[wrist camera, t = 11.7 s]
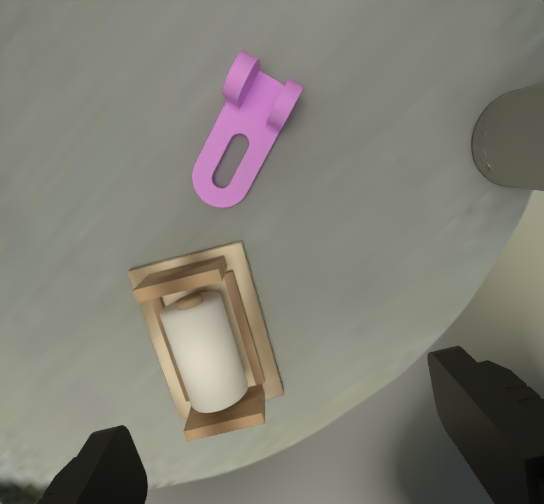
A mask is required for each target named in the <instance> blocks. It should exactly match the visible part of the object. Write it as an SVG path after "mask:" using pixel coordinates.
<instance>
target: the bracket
mask: <svg viewBox="0 0 544 504" xmlns="http://www.w3.org/2000/svg"><path fill="white" fill-rule="evenodd" d="M303 88H304V87H303V86H302V85H300V84H298V83H297V82H295V81H293V80H292V79H290V78H289V79H288V80H287V82H286V84H285V85H283V84H281V83H279V82H278V81H276V80H274V79H273V78H271V77H269V76H268V75H266V74H264V73H263V72H261V71H259V59H257V58H256V57H254V56H252V55H251V54H249V53H247V52H246V51H244V50H242V51H241V52H240V53H239V55H238V56H237V58H236V60H235V61H234V63H233V65H232V67H231V69H230V71H229V74H228V76H227V78H226V81H225V84H224V87H223V92H222V93H223V95H224V97H225V99H226V103H225V105H224V107H223V109H222V111H221V113H220V115H219V117H218V119H217V121H216V123H215V125H214V127H213V129H212V131H211V133H210V135H209V138H208V140H207V142H206V144H205V146H204V148H203V150H202V152H201V154H200V156H199V158H198V160H197V162H196V164H195V166H194V169H193V173H192V181H193V186H194V189H195V191H196V193H197V194H198V196H199V197H200V198H201V199H202V200H203V201H204V202H206V203H207V204H209V205H211V206H214V207H220V208H225V207H230V206H233V205H235V204H237V203H238V202H240V201H241V200H242V199H243V198H244V196H245V195H246V193H247V192H248V190H249V188H250V186H251V184H252V182H253V180H254V179H255V177H256V175H257V173H258V171H259V169H260V167H261V166H262V164H263V162H264V160H265V158H266V156H267V154H268V152H269V151H270V149H271V147H272V145H273V143H274V141H275V139H276V138H277V136H278V134H279V132H280V130H281V129H282V127H283V125H284V123H285V121H286V120H287V118H288V116H289V114H290V112H291V110H292V108H293V107H294V105H295V103H296V101H297V99H298V97H299V95H300V93H301V92H302V90H303ZM238 134H242V135H245V136H246V137H247V138H248V140H249V148H248V150H247V152H246V154H245V155H244V157H243V159H242V161H241V163H240V165H239V167H238V169H237V171H236V173H235V175H234V177H233V178H232V180H231V182H230V184H229V185H228V186H227V187H219V186H217V185H216V184H215V182H214V180H213V176H214V173H215V171H216V169H217V167H218V165H219V163H220V161H221V159H222V157H223V155H224V153H225V151H226V150H227V148H228V146H229V144H230V142H231V140H232V138H233V137H234V136H235V135H238Z"/></svg>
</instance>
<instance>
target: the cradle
mask: <svg viewBox="0 0 544 504" xmlns="http://www.w3.org/2000/svg"><path fill="white" fill-rule="evenodd" d="M128 275H129V278H130V280H131V283H132V286H133V289H134V290H133V294H134V296H135V299H136V302H137V303H138V302H139V305H140V308H141V311H142V313H143V316H144V319H145V322H146V325H147V327H148V330H149V333H150V336H151V338H152V341H153V344H154V347H155V349H156V352H157V355H158V358H159V360H160V363H161V366H162V369H163V371H164V374H165V377H166V380H167V382H168V385H169V388H170V391H171V394H172V396H173V399H174V402H175V405H176V407H177V410H178V413H179V416H180V418H181V419H185V418H187V422H186V425H185V429H184V434H185V437H186V439H187V441H192V440H196V439H200V438H204V437H209V436H213V435H217V434H221V433H225V432H230V431H234V430H238V429H242V428H247V427H251V426H255V425H259V424H264V423H265V399H269V398H273V397H277V396H282V395H284V390H283V386H282V383H281V379H280V376H279V372H278V369H277V365H276V361H275V358H274V354H273V351H272V347H271V344H270V340H269V336H268V333H267V329H266V326H265V322H264V319H263V315H262V311H261V308H260V304H259V301H258V297H257V294H256V290H255V286H254V283H253V279H252V276H251V272H250V269H249V265H248V262H247V258H246V254H245V251H244V247H243V244H242V241H238V242H234V243H231V244H227V245H223V246H219V247H215V248H211V249H207V250H203V251H199V252H195V253H191V254H187V255H184V256H180V257H176V258H172V259H168V260H164V261H160V262H156V263H152V264H148V265H144V266H140V267H136V268H133V269H130V270H129V271H128ZM206 291H216V292H219V293H220V294H221V298H222V301H223V304H224V307H225V311H226V314H227V317H228V320H229V324H230V327H231V330H232V333H233V337H234V340H235V343H236V346H237V349H238V353H239V356H240V359H241V362H242V366H243V369H244V372H245V375H246V379H247V382H248V389H247V391H246V393H245V394H244V396H243V397H242V398H241V399H240V400H239V401H237V402H236V403H235V404H233V405H232V406H230V407H228V408H226V409H223V410H220V411H217V412H212V413H201V412H198V411H196V410H194V409H193V407H192V405H191V403H190V400H189V397H188V394H187V391H186V388H185V386H184V383H183V380H182V377H181V374H180V372H179V369H178V366H177V363H176V360H175V357H174V355H173V352H172V349H171V346H170V343H169V341H168V338H167V335H166V332H165V329H164V326H163V324H162V321H161V318H160V312H161V311H162V310H163V309H164V308H165V307H166V306H168V305H169V304H171V303H172V302H174V301H176V300H178V299H179V298H181V297H183V296H186V295H189V294H192V293H200V292H206Z"/></svg>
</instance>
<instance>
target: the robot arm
mask: <svg viewBox="0 0 544 504" xmlns="http://www.w3.org/2000/svg"><path fill="white" fill-rule="evenodd" d="M472 152H473V156H474V160H475V163H476V165H477V167H478V169H479V170H480V171H481V173H482V174H483V175H484V176H485V177H486V178H488V179H489V180H490V181H492V182H494V183H496V184H499V185H502V186H508V187H516V188H525V189H532V190H541V191H544V83H540V84H537V85H533V86H530V87H526V88H523V89H519V90H515V91H512V92H509V93H507V94H505V95H503V96H501V97H499V98H498V99H496V100H495V101H494V102H492V103H491V104H490V105H489V106H488V107H487V109H486V110H485V111H484V112H483V114H482V115H481V117H480V119H479V120H478V122H477V125H476V127H475V130H474V134H473V140H472ZM428 365H429V371H430V376H431V382H432V387H433V393H434V399H435V404H436V409H437V412H438V415H439V418H440V420H441V423H442V425H443V427H444V429H445V430H446V432H447V434H448V435H449V437H450V438H451V440H452V441H453V443H454V444H455V446H456V447H457V449H458V450H459V452H460V453H461V455H462V456H463V457H464V459H465V461H466V462H467V464H468V465H469V466H470V468H471V470H472V471H473V472H474V474H475V475H476V477H477V478H478V480H479V481H480V483H481V484H482V486H483V487H484V489H485V490H486V492H487V493H488V495H489V496H490V498H491V499H492V501H493V502H494V504H544V399H541V397H540V395H538V393H536V392H535V391H534V390H533V389H532V388H531V387H527V385H526V383H525V382H524V381H522V380H521V379H520V378H519V377H518V376H516V375H515V374H514V373H513V372H512V371H511V370H509V369H507V368H504V367H502V366H500V365H498V364H495V363H493V362H491V361H488V360H487V361H483V362H479V363H477V362H476V361H475V360H474V359H473V358H472V357H471V356H470V355H469V354H468V353H467V352H466V351H465V350H464V349H463V348H461V347H460V346H455V347H450V348H446V349H442V350H437V351H434V352H430V353H428ZM147 489H148V483H147V476H146V472H145V469H144V467H143V464H142V462H141V459H140V457H139V454H138V452H137V449H136V447H135V444H134V442H133V440H132V437H131V435H130V432H129V430H128V429H127V428H126V427H125V426H123V425H121V426H117V427H112V428H108V429H104V430H100V431H96V432H93V433H92V434H91V435H90V436H89V438H88V440H87V441H86V443H85V444H84V446H83V448H82V449H81V451H80V452H79V454H78V455H77V457H74V458H73V459H72V460H71V461H70V462H69V463H68V464H67V465H66V466H65V467H64V468H63V469H62V470H61V471H60V472H59V473H58V474H57V475H56V476H55V477H54V479H53V480H52V482H51V484H50V485H49V487H48V488H47V490H46V491H45V493H44V494H43V499H40V500H39V502H38V503H37V504H145V500H146V497H147Z"/></svg>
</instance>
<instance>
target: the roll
mask: <svg viewBox="0 0 544 504" xmlns="http://www.w3.org/2000/svg"><path fill="white" fill-rule="evenodd" d="M160 318H161V321H162V324H163V326H164V329H165V332H166V335H167V338H168V341H169V343H170V346H171V349H172V352H173V355H174V357H175V360H176V363H177V366H178V369H179V372H180V374H181V377H182V380H183V383H184V386H185V388H186V391H187V394H188V397H189V400H190V403H191V405H192V407H193V409H194V410H196V411H198V412H201V413H212V412H217V411H220V410H223V409H226V408H228V407H230V406H232V405H233V404H235V403H236V402H237V401H239V400H240V399H241V398H242V397H243V396H244V394H245V393H246V391H247V389H248V382H247V379H246V375H245V372H244V369H243V366H242V362H241V359H240V356H239V353H238V349H237V346H236V343H235V340H234V337H233V333H232V330H231V327H230V324H229V320H228V317H227V314H226V311H225V307H224V304H223V301H222V298H221V294H220V293H219V292H216V291H206V292H200V293H192V294H189V295H186V296H183V297H181V298H179V299H178V300H176V301H174V302H172V303H171V304H169V305H168V306H166V307H165V308H164V309H163V310H162V311H161V312H160Z"/></svg>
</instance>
